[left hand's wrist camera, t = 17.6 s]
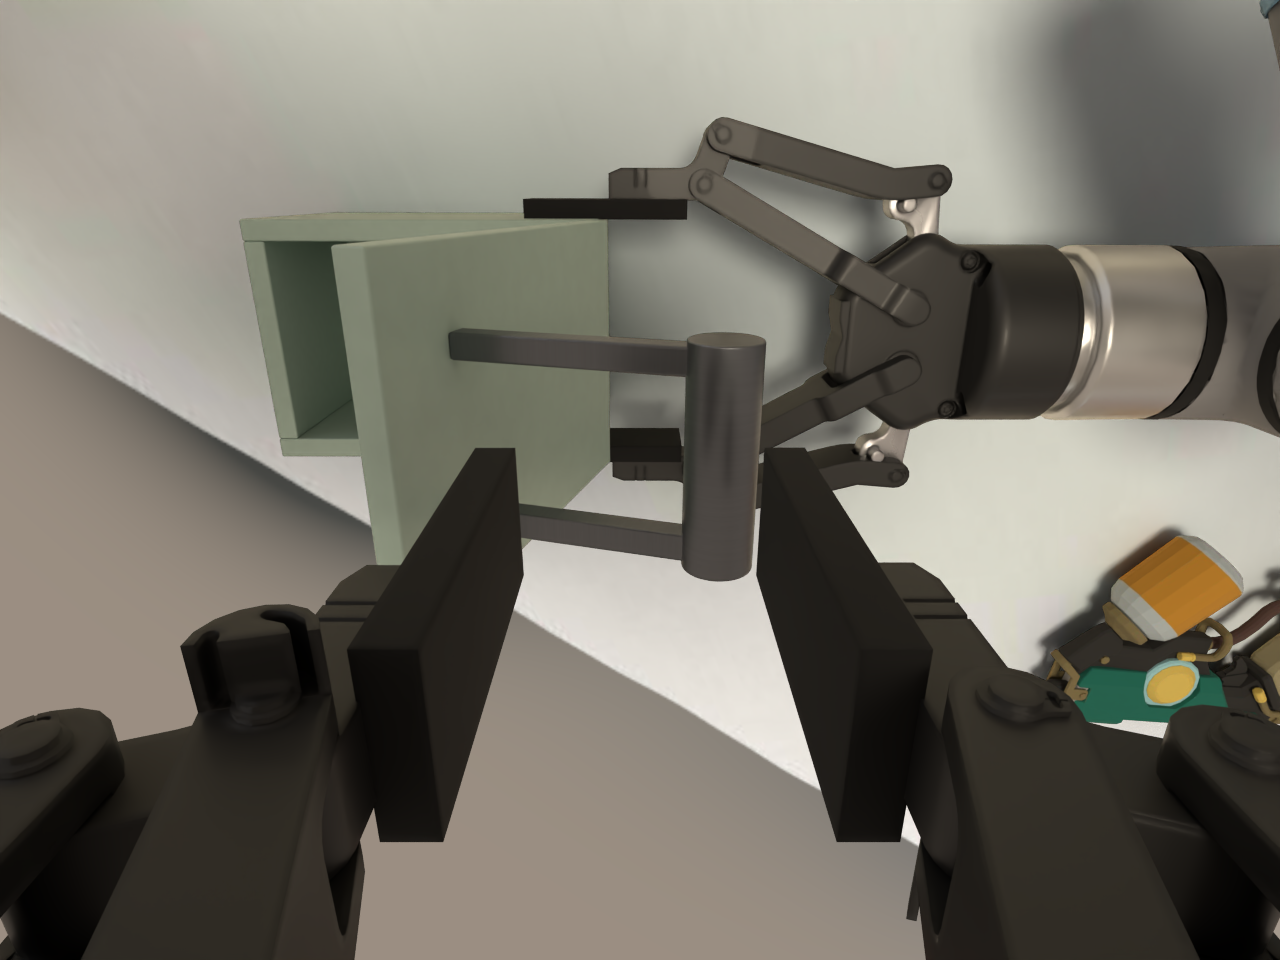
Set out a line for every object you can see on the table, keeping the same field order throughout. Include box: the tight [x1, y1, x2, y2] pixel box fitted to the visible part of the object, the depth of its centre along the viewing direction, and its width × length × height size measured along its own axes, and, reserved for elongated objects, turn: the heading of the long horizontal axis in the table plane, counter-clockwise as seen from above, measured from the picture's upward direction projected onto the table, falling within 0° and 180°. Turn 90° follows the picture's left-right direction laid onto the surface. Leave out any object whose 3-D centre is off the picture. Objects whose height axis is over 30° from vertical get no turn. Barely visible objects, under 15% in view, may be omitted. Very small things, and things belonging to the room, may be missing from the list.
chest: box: [240, 212, 610, 456], centre depth 34 cm, size 14×10×9 cm
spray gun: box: [1046, 535, 1280, 724], centre depth 44 cm, size 4×17×15 cm
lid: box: [331, 220, 766, 581], centre depth 22 cm, size 15×10×8 cm
